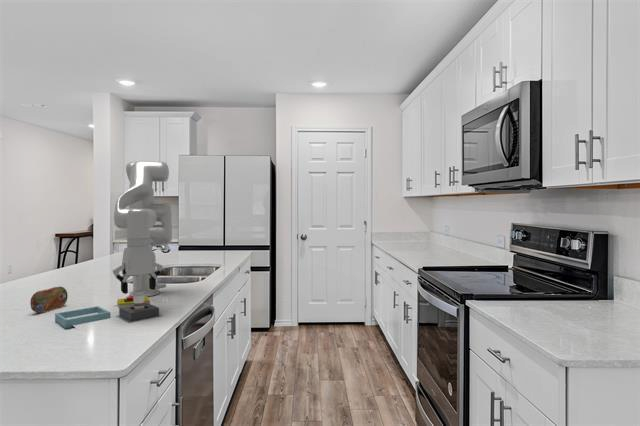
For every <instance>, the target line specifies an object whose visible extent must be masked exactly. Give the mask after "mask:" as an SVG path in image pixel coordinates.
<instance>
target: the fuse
mask: <svg viewBox="0 0 640 426" xmlns="http://www.w3.org/2000/svg"><path fill="white" fill-rule="evenodd" d="M132 291H133V290H132ZM144 294H145V290H136V291H133V295H134V310H140V309H145V301H144Z"/></svg>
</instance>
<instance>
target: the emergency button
mask: <svg viewBox="0 0 640 426" xmlns="http://www.w3.org/2000/svg"><path fill="white" fill-rule="evenodd" d="M144 301H145V303H148V304H151V303H150V298H149V296H148V297H147V296H144ZM116 302H117V304H116V305H113V308H115V307H117V308H118V309H119V308H121V307H126V306H132V305H134V296H129V295H128V296H126V297H125V298H118V299H117V301H116Z"/></svg>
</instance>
